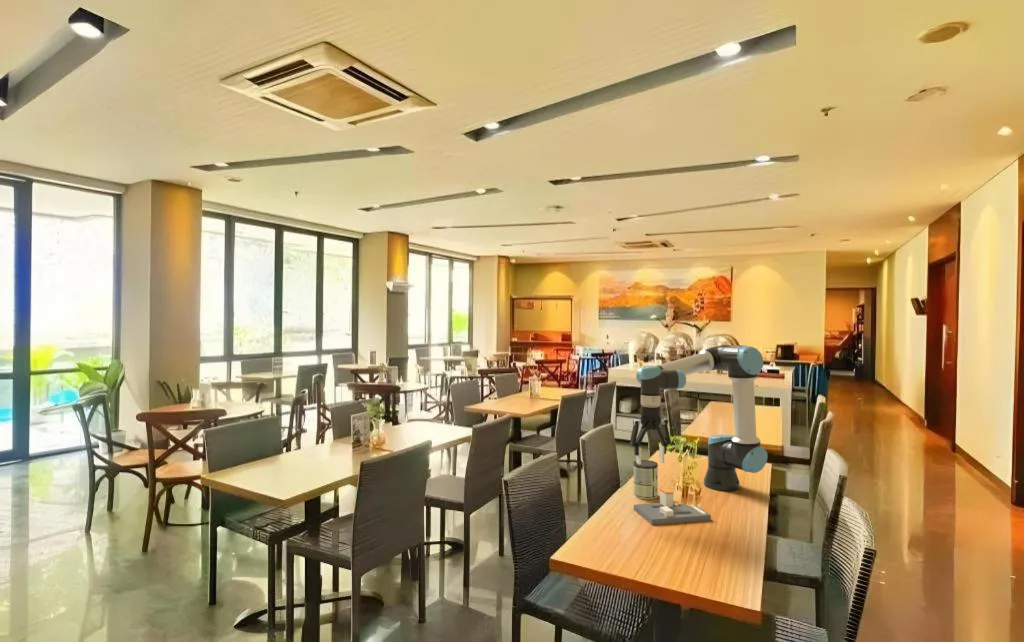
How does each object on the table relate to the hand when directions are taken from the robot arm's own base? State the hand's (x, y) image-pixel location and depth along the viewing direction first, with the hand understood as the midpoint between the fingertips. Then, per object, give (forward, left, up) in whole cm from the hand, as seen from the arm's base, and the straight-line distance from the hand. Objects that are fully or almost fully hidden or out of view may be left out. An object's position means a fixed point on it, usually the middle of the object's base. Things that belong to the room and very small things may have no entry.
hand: (650, 462), depth 212 cm
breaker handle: (-7, 0, -17) cm, 18 cm away
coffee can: (-7, -19, -20) cm, 28 cm away
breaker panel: (-7, +4, -19) cm, 21 cm away
